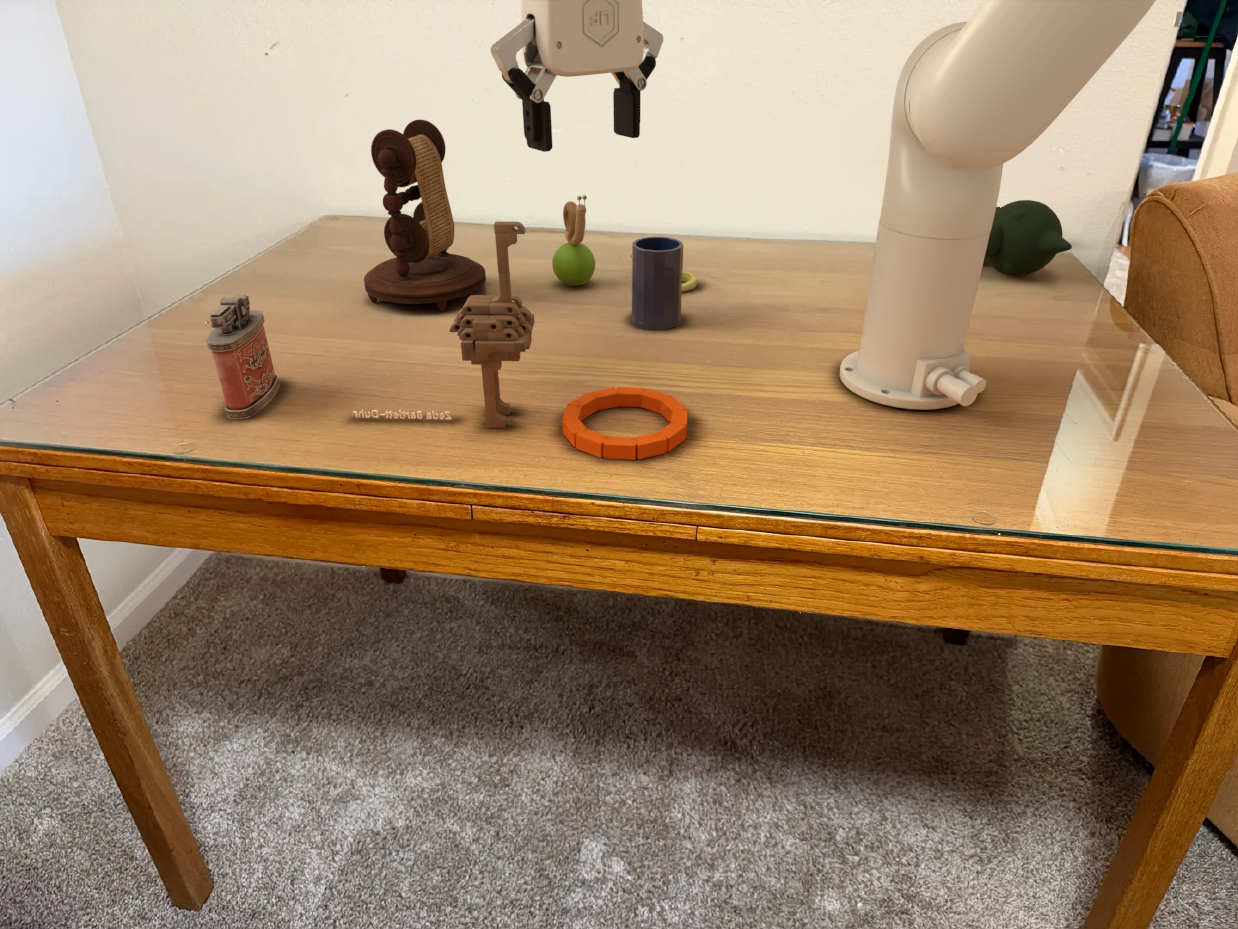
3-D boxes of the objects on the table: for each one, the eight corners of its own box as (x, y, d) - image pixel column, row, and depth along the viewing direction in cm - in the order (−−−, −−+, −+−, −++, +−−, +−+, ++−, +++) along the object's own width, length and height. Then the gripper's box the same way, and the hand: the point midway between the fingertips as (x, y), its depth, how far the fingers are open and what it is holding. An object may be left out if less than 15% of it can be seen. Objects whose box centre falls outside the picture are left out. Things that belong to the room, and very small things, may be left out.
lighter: (253, 381, 85) (229, 284, 79) (287, 381, 84) (264, 284, 79) (218, 419, 78) (189, 316, 72) (254, 419, 78) (228, 316, 72)
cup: (688, 325, 97) (692, 247, 92) (644, 333, 95) (645, 254, 90) (666, 309, 101) (668, 234, 96) (624, 316, 99) (624, 240, 95)
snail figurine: (564, 296, 105) (561, 198, 99) (547, 281, 110) (542, 186, 104) (605, 290, 107) (603, 193, 100) (586, 275, 112) (584, 182, 106)
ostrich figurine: (542, 403, 80) (531, 211, 71) (534, 438, 74) (521, 234, 65) (365, 401, 81) (332, 210, 71) (344, 435, 75) (304, 233, 66)
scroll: (451, 321, 98) (431, 139, 87) (342, 307, 102) (310, 131, 92) (506, 281, 110) (494, 116, 99) (406, 269, 114) (384, 110, 103)
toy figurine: (918, 188, 122) (1014, 207, 100) (1040, 187, 125) (1161, 206, 102) (909, 254, 126) (999, 287, 103) (1028, 252, 128) (1142, 284, 106)
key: (644, 262, 116) (644, 247, 115) (703, 287, 108) (704, 271, 106) (601, 273, 112) (601, 257, 111) (659, 299, 104) (660, 283, 103)
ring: (709, 443, 74) (710, 428, 73) (592, 470, 70) (592, 456, 69) (653, 391, 82) (653, 378, 81) (546, 413, 78) (546, 400, 78)
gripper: (509, -85, 61) (525, 161, 70) (689, -82, 70) (683, 136, 79) (460, -82, 66) (480, 148, 75) (633, -79, 75) (633, 125, 84)
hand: (584, 142), depth 77 cm, fingers open, 9 cm apart
